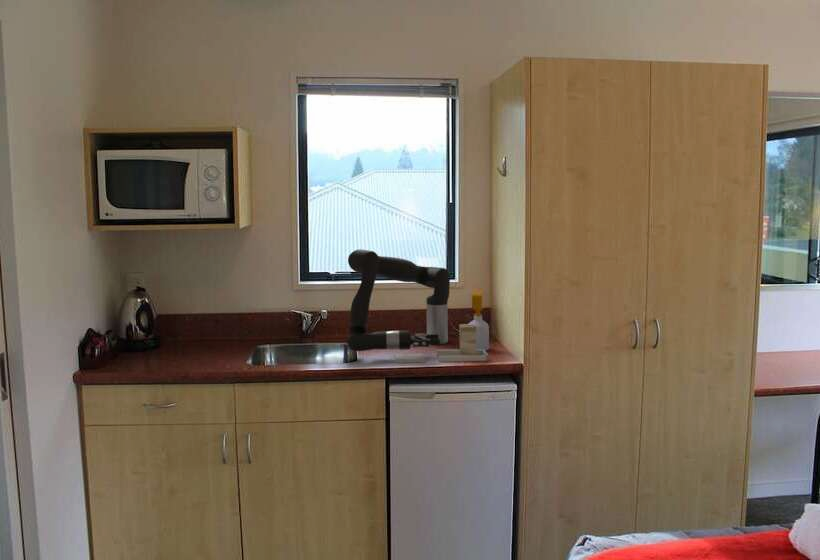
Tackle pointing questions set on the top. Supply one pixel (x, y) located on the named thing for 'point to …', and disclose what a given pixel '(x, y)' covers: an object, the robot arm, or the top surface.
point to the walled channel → (480, 356)
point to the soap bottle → (480, 322)
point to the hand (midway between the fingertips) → (439, 339)
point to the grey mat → (410, 358)
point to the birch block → (467, 339)
